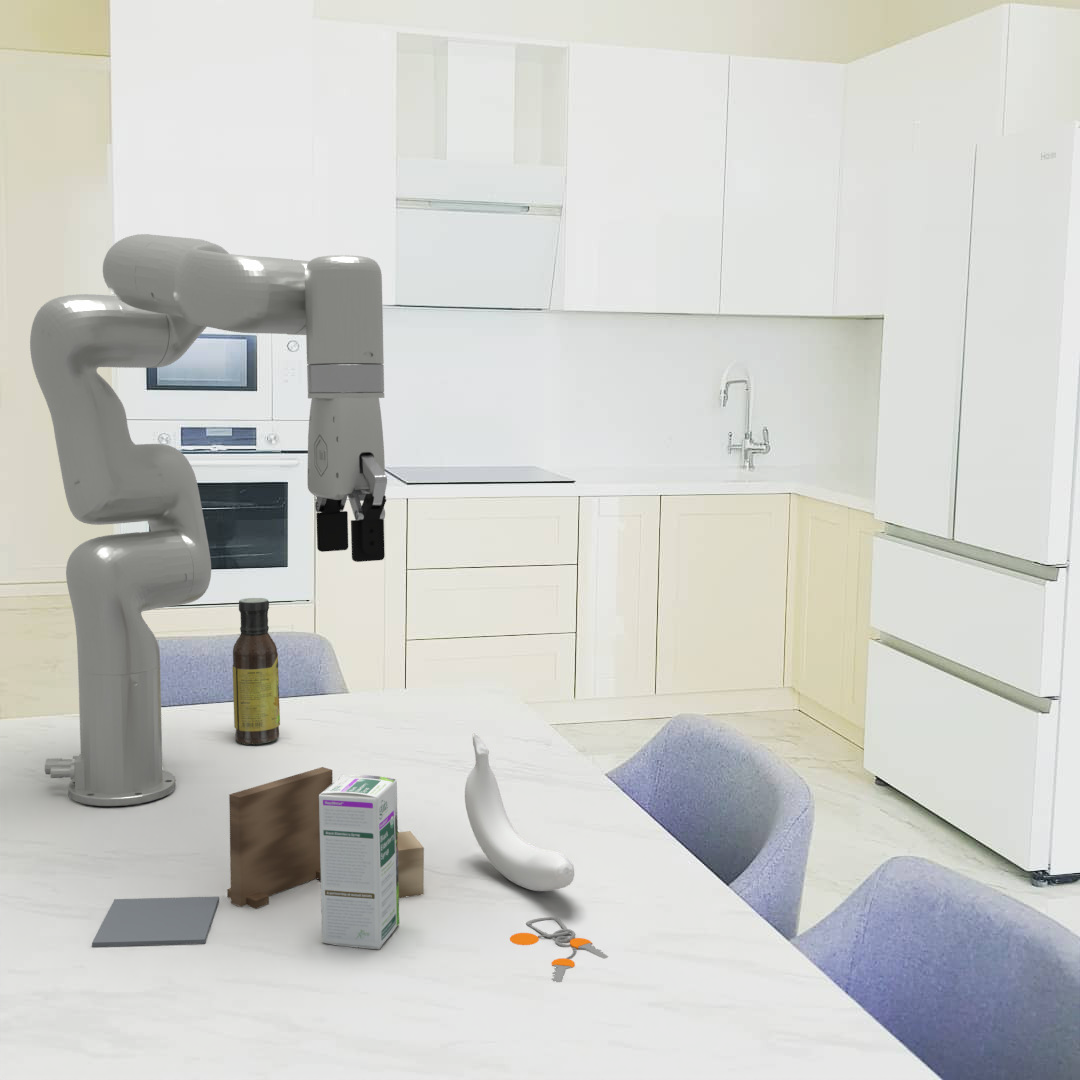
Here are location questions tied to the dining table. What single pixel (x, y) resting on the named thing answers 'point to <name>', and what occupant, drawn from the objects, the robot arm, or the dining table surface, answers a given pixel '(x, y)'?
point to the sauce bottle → (255, 676)
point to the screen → (275, 836)
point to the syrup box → (359, 861)
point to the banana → (508, 833)
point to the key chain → (575, 944)
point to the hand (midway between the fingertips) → (350, 555)
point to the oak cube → (410, 865)
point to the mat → (157, 921)
